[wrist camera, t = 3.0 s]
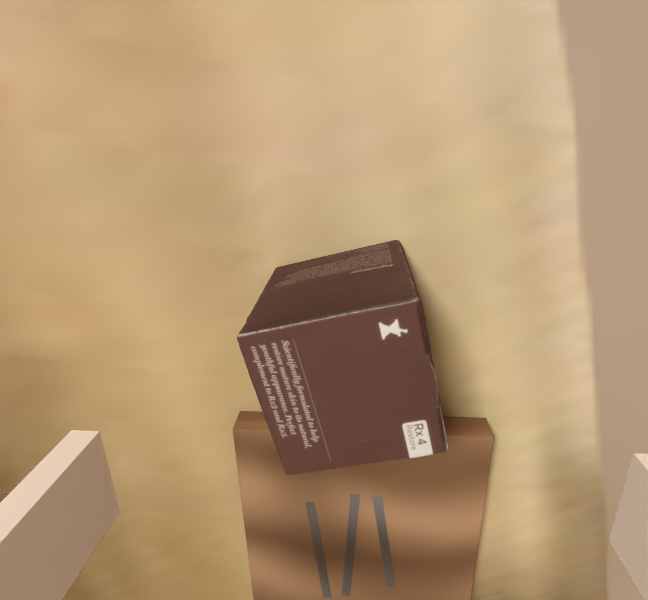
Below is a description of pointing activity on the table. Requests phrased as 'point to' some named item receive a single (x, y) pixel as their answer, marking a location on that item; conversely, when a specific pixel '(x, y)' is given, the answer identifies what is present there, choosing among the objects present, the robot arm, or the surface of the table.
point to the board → (364, 520)
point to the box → (344, 362)
